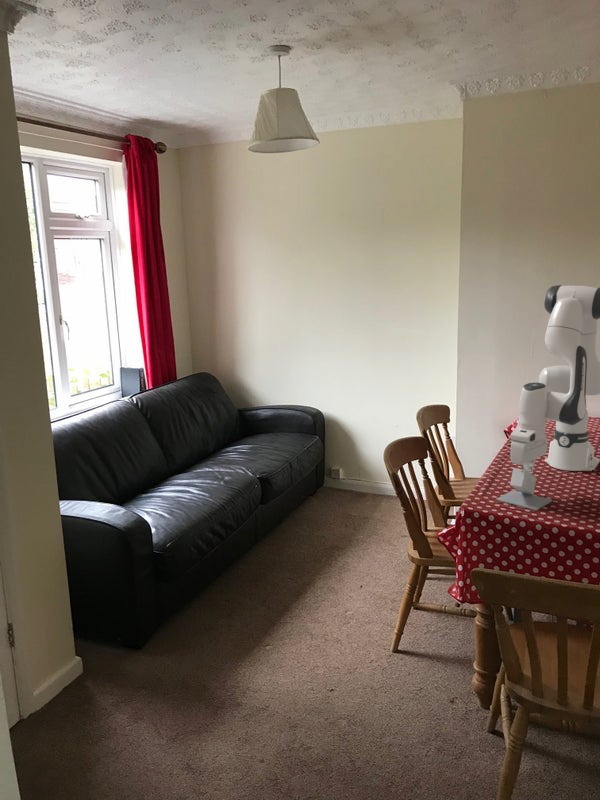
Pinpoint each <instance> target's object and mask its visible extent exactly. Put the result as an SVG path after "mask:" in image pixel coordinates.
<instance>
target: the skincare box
mask: <svg viewBox="0 0 600 800" xmlns="http://www.w3.org/2000/svg"><path fill="white" fill-rule="evenodd" d="M536 483H537V477H536V476H534V475H533V474H532V472H530V473H529V472H528V471H527V470H525V469H524V468H514V467H513V469H512V473H511V478H510V484H509V486H511V487H512V488H514V489H515V490H516V491H518V492H521V493H526V494H531V495H534V492H535V489H536V488H535V487H536Z"/></svg>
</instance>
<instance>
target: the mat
mask: <svg viewBox="0 0 600 800" xmlns="http://www.w3.org/2000/svg"><path fill="white" fill-rule="evenodd" d="M496 500H497V502H499V501H501V502H500V503H503V502H505V503H504V504H507V503H509V504H508V505H511V504H513V505H512V506H515V505H516V506H515V507H519V508H523V509H526V508H527V510H531V511H535V512H536V511H538V510H540V509H542V508H544V507H545V506H546V505H548V504H551V503H552V502H553V499H551V498H547V497H543V496H538V495H534V494H533V495H532V494H526V493H521V492H520V491H518V490H513V489H512V490H510V491H508V492H506V493H505V494H503V495H501V496H499V497H497V498H495V501H496Z"/></svg>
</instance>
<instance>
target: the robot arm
mask: <svg viewBox="0 0 600 800" xmlns="http://www.w3.org/2000/svg"><path fill="white" fill-rule="evenodd" d="M543 298H544V299H543V301H544V302H543V303H544V304H543V305H544V309H545V311H546V312H547V313H548V314H550V316H549V319H548V322H547V326H546V330H545V334H544V344H545V346H546V349H547V350H548V351H549V352H550V353H552V354H553V355H554V356H556V357H558V358H559V359H561V360H563V361H565V362H566V363H567V364H568V365H553V366H552V365H551V366H547V367H546V366H545V367H544V368H542V370H541V372H540V373H539V376H538V382H529V383H528V382H527V383H525V384H524V385H522V388H521V391H520V395H519V402H518V412H519V415H518V416H519V418H518V420H517V426H516V427H515V428H514V430H513V431H512V432H511V433H510V440H511V443H510V461H511V463H512V464H514V465H522V467H523V469H525V470H527V471H528V472H529V473H532V472H533V471H534V467H535V464H536V462H537V459H538V458H541V457H542V456H545V455H547V452H548V456H547V457H545V459H544V462H545V463H547V464H548V465H549V466H551V467H552V468H553V469H554V468H555V469H557V470H558V469H559V470H563V471H573V472H577V471H578V472H579V471H580V472H582V471H583V472H587V471H590V472H592V470H594V471H595V470H596V468H597V467H598V465H599V463H600V458H598V457H595V447H594V446H593V445H592V444H591V442H590V440H589V436H590V435H591V431H592V430H591V429H588V420H589V412H588V409H587V399H586V396H598V395H600V360H599V358H598V357H597V352H596V347H597V346H596V341H597V332H598V331H597V329H598V320H599V319H600V287H593V286H588V285H561V284H558V285H552V286H550V287H549V288H548V289H547V290H546V293H545V295H544V297H543ZM546 420H548V421H554V422H555V428H554V431H553V438H554V439H553V440H551V441H550V442H549V451H548V436H547V434H546V427H547V425H546V424H547V422H546Z"/></svg>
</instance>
